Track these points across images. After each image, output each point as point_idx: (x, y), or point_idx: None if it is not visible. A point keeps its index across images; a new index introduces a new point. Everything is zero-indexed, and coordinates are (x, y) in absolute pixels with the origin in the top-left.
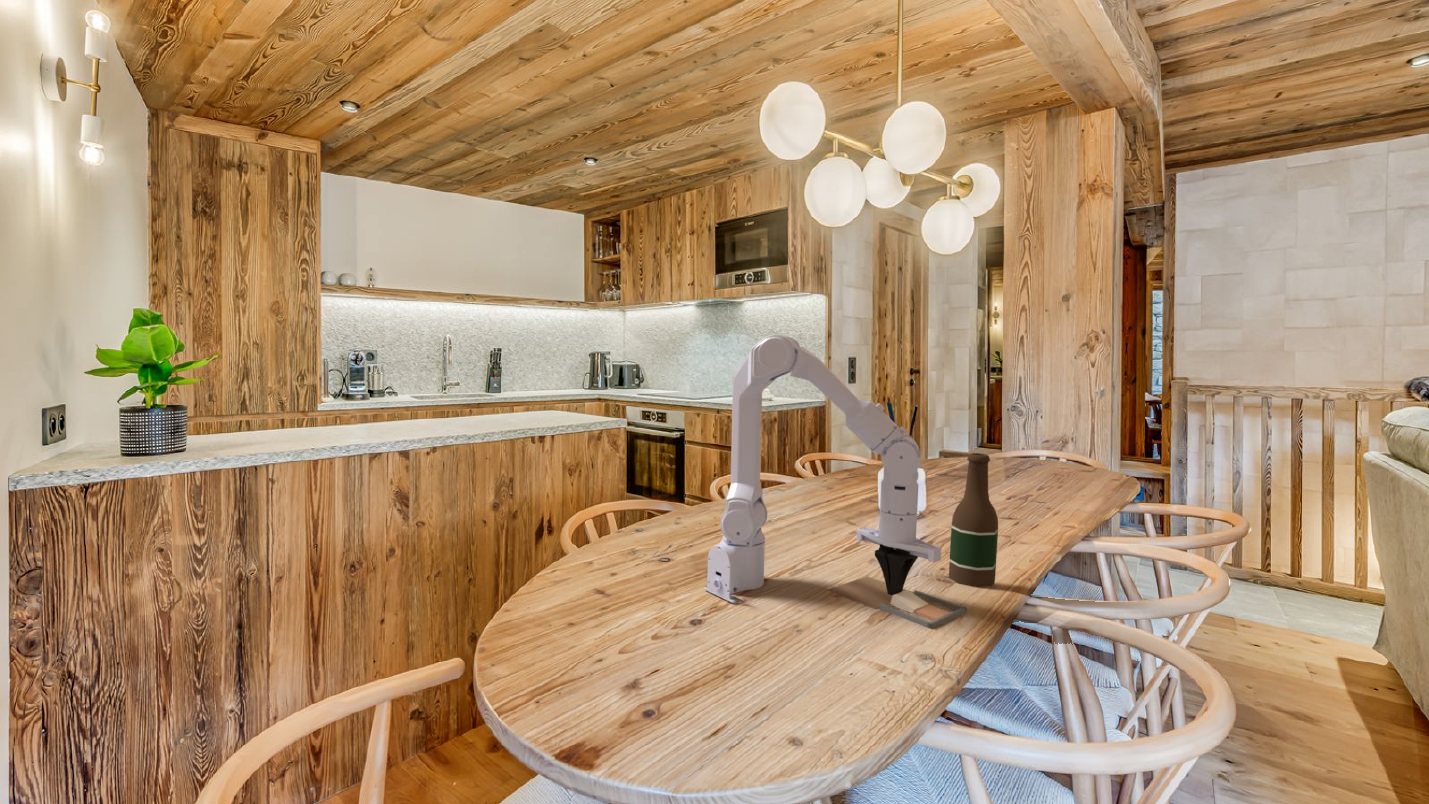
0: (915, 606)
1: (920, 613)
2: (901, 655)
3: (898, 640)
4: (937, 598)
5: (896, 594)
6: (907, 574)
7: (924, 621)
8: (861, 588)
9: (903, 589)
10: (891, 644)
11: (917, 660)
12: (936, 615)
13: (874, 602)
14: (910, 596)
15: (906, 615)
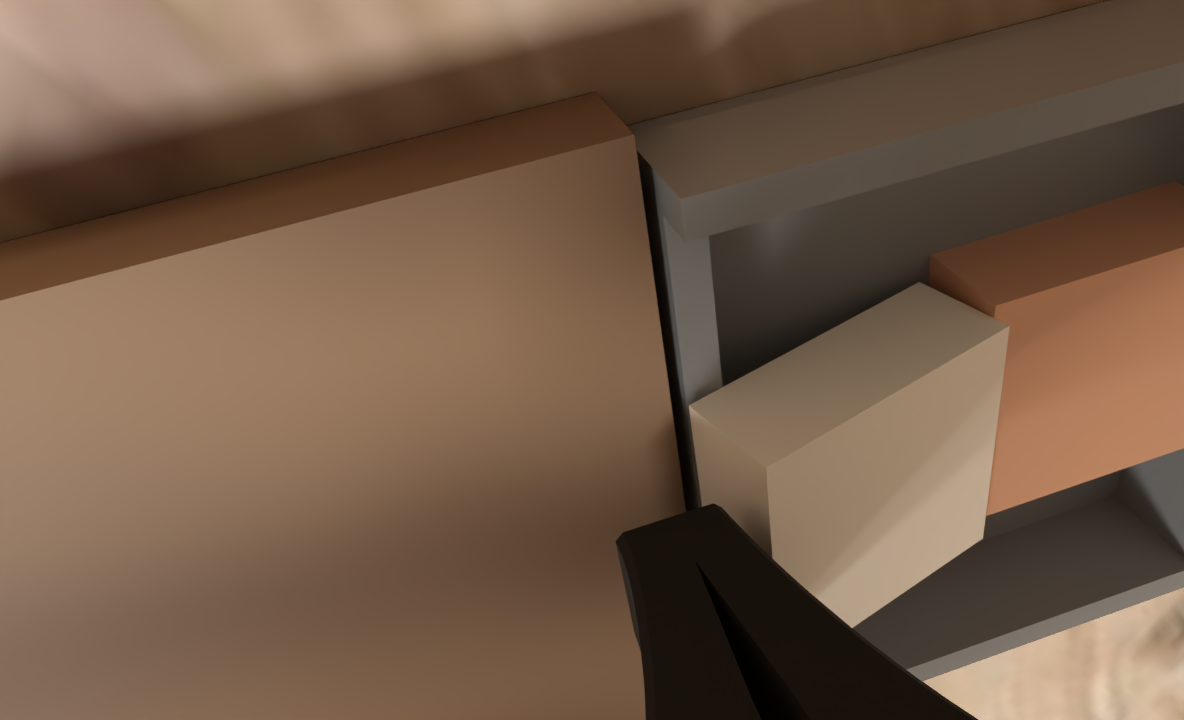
0: (967, 501)
1: (1033, 497)
2: (1082, 713)
3: (988, 663)
4: (1041, 132)
5: None
6: (912, 682)
7: (1160, 593)
8: (195, 678)
9: (420, 215)
10: (986, 710)
11: (1162, 672)
12: (1162, 407)
13: (603, 696)
14: (859, 484)
15: (1003, 644)
